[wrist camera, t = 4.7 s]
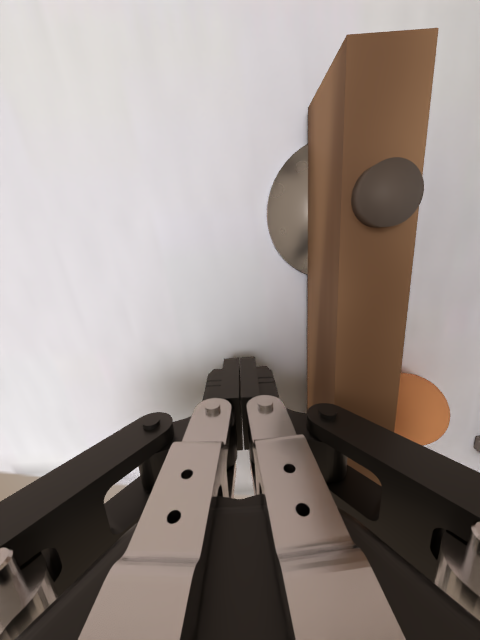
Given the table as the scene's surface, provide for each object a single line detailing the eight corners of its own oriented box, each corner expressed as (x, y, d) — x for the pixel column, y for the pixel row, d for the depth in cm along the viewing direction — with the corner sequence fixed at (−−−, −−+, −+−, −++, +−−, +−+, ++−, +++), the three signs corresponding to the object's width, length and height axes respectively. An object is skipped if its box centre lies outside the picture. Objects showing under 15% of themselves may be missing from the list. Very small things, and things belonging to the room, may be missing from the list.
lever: (367, 103, 11) (456, 8, 6) (349, 427, 15) (395, 502, 11) (308, 107, 11) (356, 16, 6) (307, 430, 15) (336, 506, 11)
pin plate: (404, 132, 11) (407, 129, 11) (391, 273, 13) (394, 273, 13) (263, 142, 12) (264, 140, 11) (269, 281, 13) (269, 282, 13)
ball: (422, 360, 14) (476, 394, 11) (415, 414, 15) (463, 460, 12) (359, 364, 15) (395, 399, 11) (355, 417, 15) (388, 465, 12)
